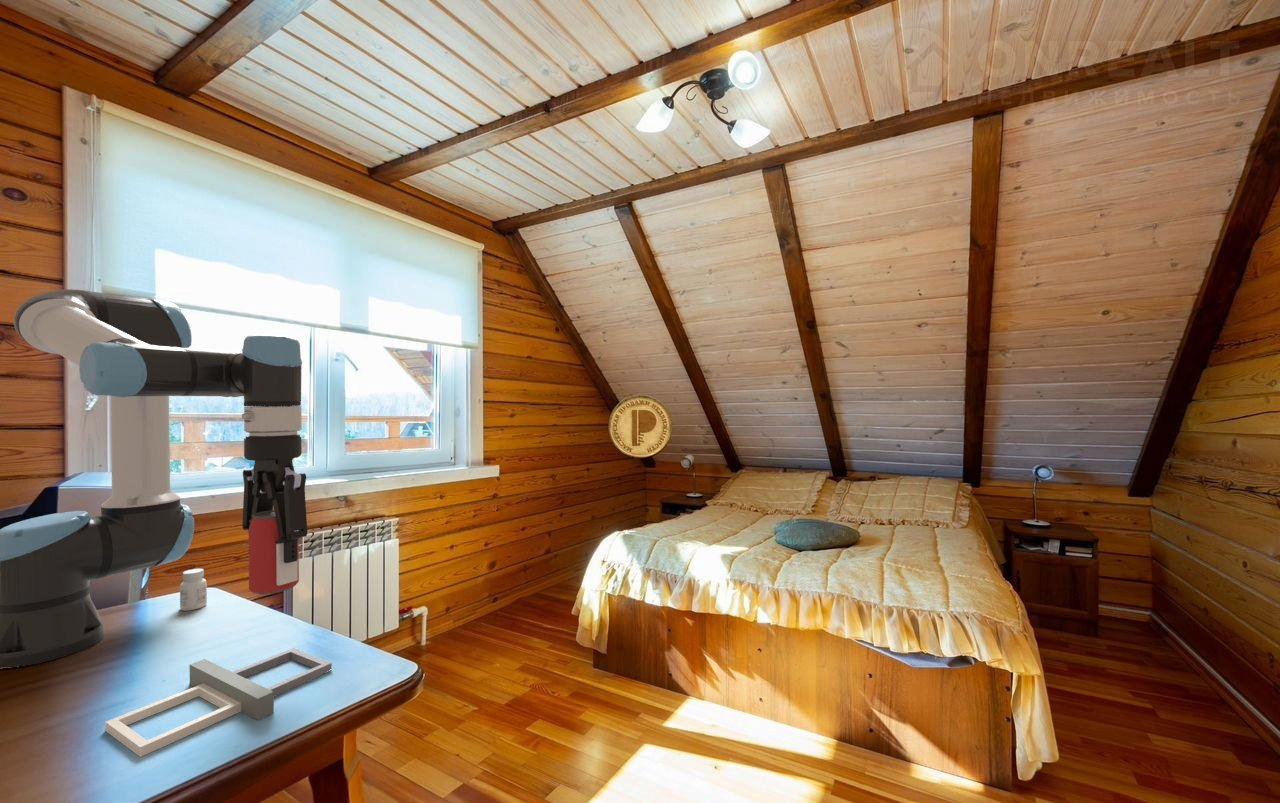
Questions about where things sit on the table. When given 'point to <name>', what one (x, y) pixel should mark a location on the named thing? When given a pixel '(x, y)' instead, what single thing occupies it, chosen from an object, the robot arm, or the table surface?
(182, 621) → the table surface
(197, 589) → the pill bottle
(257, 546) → the beer can
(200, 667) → the double frame with crossbar
